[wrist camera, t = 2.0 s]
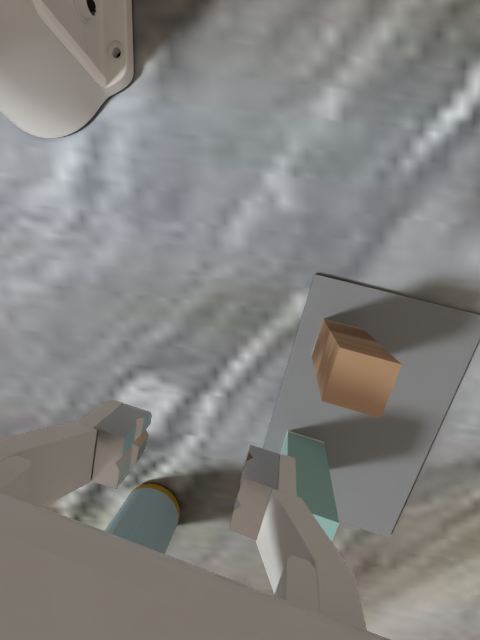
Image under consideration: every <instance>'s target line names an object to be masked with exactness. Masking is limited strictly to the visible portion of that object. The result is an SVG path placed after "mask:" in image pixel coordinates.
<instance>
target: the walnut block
mask: <svg viewBox="0 0 480 640" xmlns="http://www.w3.org/2000/svg"><path fill="white" fill-rule="evenodd" d="M312 360H313V364H314V369H315V373H316V378H317V382H318V386H319V391H320V395H321V400H322V401H323V402H327V403H330V404H333V405H337V406H340V407H343V408H347V409H350V410H354V411H357V412H360V413H364V414H367V415H370V416H374V417H377V418H380V419H381V416H382V414H383V411H384V409H385V406H386V404H387V401H388V399H389V396H390V394H391V391H392V389H393V386H394V384H395V381H396V379H397V376H398V374H399V371H400V369H401V366H402V364H401V363H400V362H399V361H398V360H397V359H395V358H394V357H393V356H392V355H391V354H390V353H389V352H388V351H387V350H386V349H385V348H383V347H382V346H381V345H380V344H379V343H378V342H377V341H376V340H375V339H374V338H373V337H371V336H370V335H369V334H368V333H367V332H366V331H365V330H364V329H360V328H357V327H353V326H349V325H345V324H342V323H338V322H334V321H330V320H326V319H323V321H322V324H321V327H320V330H319V333H318V336H317V340H316V343H315V346H314V349H313V352H312Z"/></svg>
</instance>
